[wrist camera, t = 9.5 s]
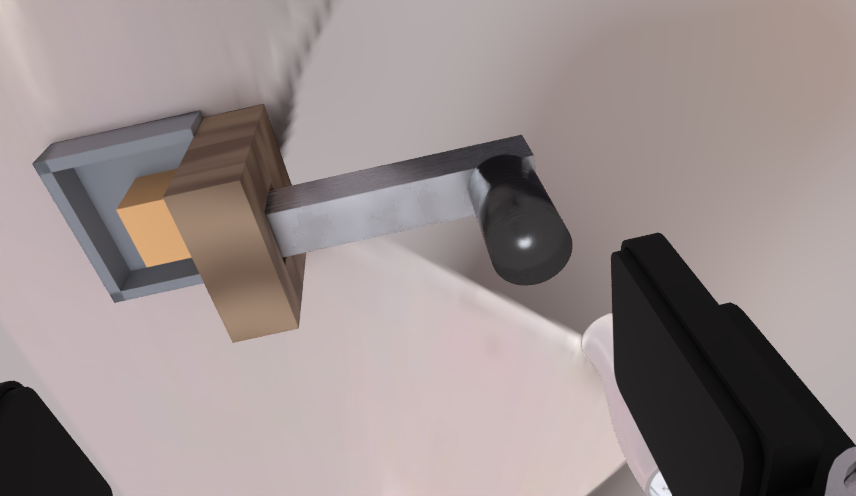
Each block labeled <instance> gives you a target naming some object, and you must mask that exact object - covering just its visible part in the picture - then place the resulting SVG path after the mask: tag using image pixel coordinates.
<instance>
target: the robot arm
mask: <svg viewBox="0 0 856 496" xmlns="http://www.w3.org/2000/svg"><path fill="white" fill-rule="evenodd" d="M611 277H612V278H611V279H612V318H613V356H614V374H615V379H616V383H617V386H618V389H619V391H620V393H621V395H622V397H623V399H624V401H625V403H626V405H627V407H628V409H629V411H630V413H631V415H632V417H633V419H634V421H635V423H636V425H637V427H638V429H639V431H640V433H641V435H642V437H643V439H644V441H645V443H646V445H647V447H648V449H649V451H650V453H651V455H652V457H653V459H654V461H655V463H656V465H657V467H658V469H659V471H660V473H661V475H662V476H663V478H664V480H665V482H666V484H667V486H668V488H669V490H670V492H671V494H672V496H856V445H855V444H854V443H853V441H852V440H851V439H850V438H849V437H848V436H847V434H846V433H845V432H844V431H843V429H842V428H841V427H840V426H839V425H838V423H837V422H836V421H835V420H834V419H833V417H832V416H831V415H830V414H829V413H828V412H827V410H826V409H825V408H824V407H823V405H822V404H821V403H820V402H819V401H818V400H817V398H816V397H815V396H814V395H813V394H812V393H811V391H810V390H809V389H808V388H807V386H806V385H805V384H804V383H803V382H802V380H801V379H800V378H799V377H798V376H797V375H796V373H795V372H794V371H793V370H792V368H791V367H790V366H789V365H788V364H787V363H786V361H785V360H784V359H783V358H782V357H781V355H780V354H779V353H778V352H777V351H776V350H775V348H774V347H773V346H772V345H771V343H769V341H768V340H767V339H766V337H765V336H764V335H763V334H762V333H761V332H760V330H759V329H758V328H757V327H756V326H755V324H754V323H753V322H752V321H751V320H750V319H749V317H748V316H747V315H746V314H745V313H744V311H743V310H741V309H740V308H739V307H738V306H737V305H735V304H733V303H725V304H722V305H719V304H718V303H717V302H716V301H715V299H714V298H713V297H712V295H711V294H710V293H709V292H708V290H707V289H706V288H705V287H704V285H703V284H702V283H701V282H700V280H699V279H698V278H697V277H696V275H695V274H694V273H693V272H692V270H691V269H690V268H689V267H688V265H687V264H686V263H685V262H684V261H683V259H682V258H681V257H680V255H679V254H678V253H677V252H676V250H675V249H674V248H673V247H672V245H671V244H670V243H669V242H668V240H667V239H666V238H665V237H664V236H663V235H662V234H661V233H654V234H650V235H645V236H641V237H637V238H632V239H628V240H624V241H623V242H622V245H621V251H617V252H613V253H612V255H611ZM0 496H113V494H112V490H111V488H110V486H109V484H108V483H107V482H106V480H105V479H104V478H103V477H102V475H101V474H100V473H99V472H98V470H97V469H96V468H95V466H94V465H93V464H92V463H91V462H90V461H89V459H88V458H87V456H86V455H85V454H84V453H83V451H82V450H81V449H80V447H79V446H78V445H77V444H76V443H75V441H74V440H73V439H72V437H71V436H70V435H69V434H68V432H67V431H66V430H65V429H64V427H63V426H62V425H61V423H60V422H59V421H58V420H57V418H56V417H55V416H54V415H53V413H52V412H51V411H50V410H49V408H48V407H47V406H46V405H45V403H44V402H43V401H42V399H41V398H40V397H39V396H38V394H37V393H36V392H35V391H34V390H33V389H32V388H29V387H24V386H22V384H20V383H19V382H16V381H7V382H3V383H0Z"/></svg>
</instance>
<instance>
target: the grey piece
mask: <svg viewBox="0 0 856 496" xmlns="http://www.w3.org/2000/svg"><path fill="white" fill-rule="evenodd" d="M264 213H265V215H266V218H267V220H268V223H269V225H270V228H271V231H272V233H273V236H274V238H275V241H276V244H277V246H278V249H279V251H280V254H281V256H282V257H287V256H291V255H296V254H300V253H305V252H310V251H314V250H319V249H323V248H328V247H332V246H337V245H341V244H346V243H350V242H355V241H359V240H364V239H368V238H373V237H377V236H382V235H387V234H391V233H395V232H400V231H404V230H409V229H414V228H418V227H423V226H427V225H431V224H436V223H441V222H445V221H450V220H454V219H459V218H464V217H468V216H473V215H476V217H477V219H478V223H479V226H480V229H481V232H482V235H483V238H484V241H485V244H486V246H487V249H488V252H489V255H490V258H491V261H492V264H493V267H494V269H495V271H496V272H497V273H498V275H499V276H500V277H502V278H503V279H505V280H506V281H508V282H510V283H513V284H517V285H534V284H539V283H542V282H545V281H547V280H549V279H551V278H552V277H554V276H555V275H556V274H558V273H559V272H560V271H561V270H562V269H563V268H564V267H565V265H566V264H567V262H568V260H569V258H570V256H571V253H572V238H571V236H570V233H569V231H568V229H567V228H566V226H565V224H564V222H563V221H562V219H561V217H560V216H559V214H558V212H557V210H556V208H555V206H554V205H553V203H552V201H551V199H550V197H549V196H548V194H547V192H546V190H545V189H544V187H543V185H542V183H541V182H540V180H539V178H538V176H537V174H536V169H535V160H534V154H533V153H532V151H531V149H530V148H529V146H528V144H527V143H526V141H525V139H524V138H523V136H522V135H518V136H514V137H509V138H505V139H500V140H495V141H491V142H487V143H482V144H477V145H473V146H468V147H464V148H459V149H455V150H451V151H446V152H442V153H437V154H432V155H428V156H423V157H419V158H415V159H410V160H406V161H401V162H396V163H392V164H387V165H383V166H378V167H374V168H370V169H365V170H360V171H356V172H352V173H347V174H343V175H338V176H334V177H329V178H325V179H320V180H316V181H311V182H306V183H302V184H298V185H293V186H288V187H284V188H279V189H275V190H270V191H269V193H268V197H267V202H266V206H265V211H264Z"/></svg>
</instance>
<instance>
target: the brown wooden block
mask: <svg viewBox="0 0 856 496" xmlns="http://www.w3.org/2000/svg"><path fill="white" fill-rule="evenodd" d="M288 186H292V184H291V182H290V179H289V176H288V173H287V170H286V167H285V164H284V162H283V159H282V156H281V153H280V150H279V147H278V144H277V142H276V139H275V136H274V133H273V130H272V127H271V124H270V122H269V119H268V116H267V113H266V110H265V107H264V104H262V105H258V106H253V107H249V108H244V109H240V110H235V111H231V112H226V113H222V114H217V115H213V116H209V117H204V118H203V120H202V121H201V123H200V125H199V127H198V129H197V131H196V133H195V135H194V137H193V139H192V141H191V143H190V145H189V147H188V149H187V151H186V153H185V155H184V157H183V159H182V161H181V163H180V165H179V167H178V169H177V170H176V172H175V174H174V176H173V178H172V180H171V182H170V184H169V186H168V188H167V190H166V192H165V194H164V196H163V199H164V201H165V203H166V205H167V207H168V210H169V212H170V214H171V216H172V218H173V220H174V222H175V224H176V226H177V228H178V230H179V232H180V234H181V236H182V239H183V241H184V243H185V245H186V247H187V249H188V251H189V253H190V255H191V257H192V259H193V261H194V263H195V265H196V267H197V270H198V272H199V274H200V276H201V278H202V280H203V282H204V284H205V286H206V288H207V290H208V292H209V294H210V296H211V299H212V301H213V303H214V305H215V307H216V309H217V311H218V313H219V315H220V317H221V319H222V321H223V323H224V325H225V328H226V330H227V332H228V334H229V336H230V338H231V340H232V342H233V343H234V342H239V341H243V340H248V339H252V338H257V337H261V336H266V335H271V334H275V333H280V332H284V331H289V330H293V329H298V328H299V321H300V310H301V300H302V290H303V280H304V269H305V259H306V252H305V253H300V254H296V255H291V256H287V257H282V256H281V254H280V251H279V249H278V246H277V244H276V241H275V238H274V236H273V233H272V231H271V228H270V225H269V223H268V220H267V218H266V215H265V213H264V211H265V206H266V202H267V197H268V193H269V191H270V190H275V189H279V188H284V187H288Z"/></svg>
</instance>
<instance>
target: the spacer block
mask: <svg viewBox="0 0 856 496" xmlns="http://www.w3.org/2000/svg"><path fill="white" fill-rule="evenodd" d="M177 169H178V168H177ZM177 169H173V170H168V171H164V172H159V173H155V174H150V175H146V176H141V177H137V178H135V180H134V182H133V183H132V185H131V186H130V188H129V190H128V191H127V193H126V195H125V196H124V198H123V199H122V201H121V203H120V204H119V206H118V207H117V209H116V211H117V213H118V214H119V216H120V218H121V220H122V222H123V224H124V226H125V228H126V229H127V231H128V233H129V235H130V237H131V239H132V241H133V242H134V244H135V246H136V248H137V250H138V252H139V254H140V255H141V257H142V259H143V261H144V263H145V265H146V267H151V266H156V265H160V264H165V263H169V262H174V261H178V260H183V259H187V258H192V257H191V255H190V253H189V251H188V249H187V247H186V245H185V243H184V241H183V239H182V236H181V234H180V232H179V230H178V228H177V226H176V224H175V222H174V220H173V218H172V216H171V214H170V212H169V210H168V207H167V205H166V203H165V201H164V199H163V196H164V194H165V192H166V190H167V188H168V186H169V184H170V182H171V180H172V178H173V176H174V174H175V172H176V170H177Z"/></svg>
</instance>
